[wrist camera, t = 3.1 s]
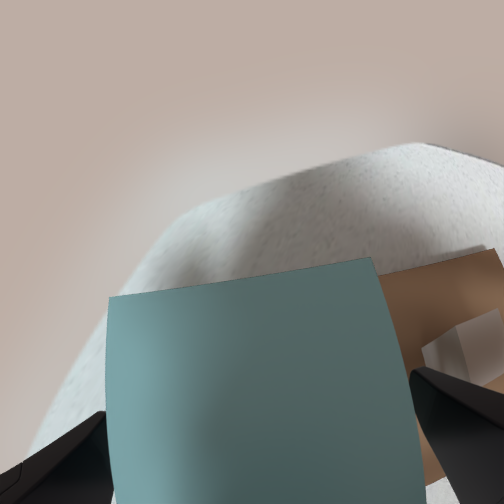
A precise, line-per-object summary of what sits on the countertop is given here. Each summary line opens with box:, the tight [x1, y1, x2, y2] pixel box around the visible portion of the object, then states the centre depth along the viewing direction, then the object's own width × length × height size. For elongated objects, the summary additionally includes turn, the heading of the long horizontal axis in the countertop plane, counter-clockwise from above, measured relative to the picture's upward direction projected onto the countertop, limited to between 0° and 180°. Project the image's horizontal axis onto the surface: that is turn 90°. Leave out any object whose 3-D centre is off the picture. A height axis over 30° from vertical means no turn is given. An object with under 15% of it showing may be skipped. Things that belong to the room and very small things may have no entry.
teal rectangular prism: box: [105, 257, 427, 504], centre depth 9 cm, size 6×6×11 cm
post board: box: [378, 248, 504, 486], centre depth 11 cm, size 13×14×5 cm
